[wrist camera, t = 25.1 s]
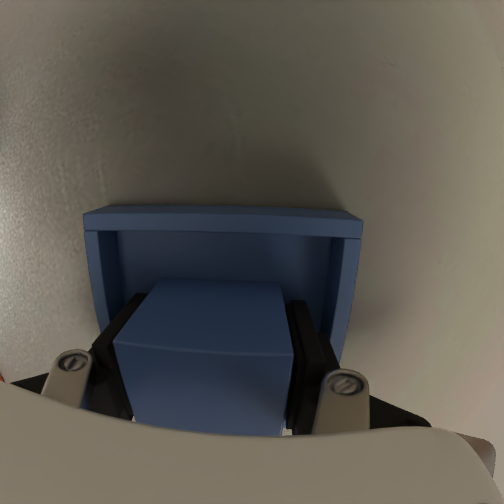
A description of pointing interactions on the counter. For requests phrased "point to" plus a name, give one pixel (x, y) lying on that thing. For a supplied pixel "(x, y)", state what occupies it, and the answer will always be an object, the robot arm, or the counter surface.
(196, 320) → the blue block
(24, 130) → the counter surface
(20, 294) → the counter surface
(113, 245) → the blue tray
